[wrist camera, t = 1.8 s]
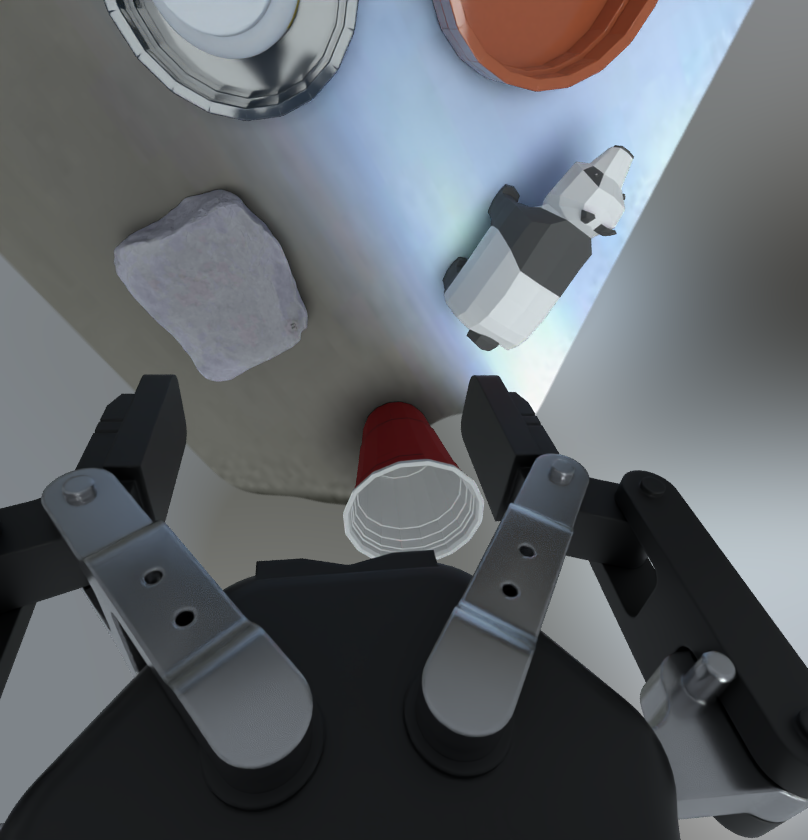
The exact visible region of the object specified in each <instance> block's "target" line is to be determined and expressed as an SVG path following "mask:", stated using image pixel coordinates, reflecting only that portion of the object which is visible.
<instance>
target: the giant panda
mask: <svg viewBox="0 0 808 840" xmlns="http://www.w3.org/2000/svg"><path fill="white" fill-rule="evenodd" d="M633 158H634V156H633V155H632V154H631V153H630V151H629V150H627V149H626V148H624V147H623V146H617V145H615V146H614V147H611V148H609V149H607V150H606V151H605V152H604V153H602V154H601V155H600V156H598V157H597V158H596V159H595V160H593V161H592V162H591V163H583V162H575V164H574V165H573V166H572V167H571V168H570V169H569V170H568V172H567V173H566V174H565V175H564V176H563V177H562V178H561V180H560V181H559V182H558V183H557V184H556V185H555V186H554V188H553V189H552V190H551V191H550V192H549V193H548V195H547V196H546V198H545V199H544V202H543V205H542V206H535V207H528V206H526V205H523V204H521V203H518V199H519V194H518V192H517V191H516V189H515V188H514V186H510V185H506V184H505V185H504V186H503V187H502V189H501V190H500V191H499V192H498V194H497V195H496V197H495V198H494V200H493V201H492V204H491V206H490V208H489V210H488V213H489V215H490V217H491V227H490V228H489V230H488V231H487V233H486V234H485V236H484V237H483V239H482V240H481V242H480V243H479V244H478V246H477V247H476V249H475V250H474V252H473V253H472V255H471V256H470V258H469V259H468V260H467V259H466V258H462V257H458V258H457V259H456V260H455V261H454V263H453V264H452V265H451V266H450V268H449V269H448V270H447V272H446V274H445V276H444V278H443V283H444V288H445V291H444V297H445V301H446V304H447V305H448V306H449V308H450V309H451V310H452V312H453V313H454V315H455V316H456V317H457V318H458V319H459V320H460V321H461V322H462V323H463V324H464V325H465V326H466V327H467V328H468V329H470V330H469V332H468V334H467V336H468V337H469V338H470V339H471V340H472V341H473V342H474V343H475V344H476V345H477V346H478V347H479V348H480V349H482V350H486V351H490V350H492V349H494V348H496V347H497V346H498V345H500V346H502V347H503V348H505V349H506V350H510V349H512V348H515V347H517V346H519V345H520V344H522V343H523V342H524V341H525V340H527V339H528V338H529V337H530V335H531V334H532V333H533V332H534V331H535V330H536V328H537V327H538V326H539V325H540V324H541V323H542V321H543V320H544V319H545V318H546V316H547V315H548V313H549V312H550V311H551V309H552V308H553V306H554V305H555V304H556V302H557V301H558V299H559V298H560V297H561V295H562V294H563V292H564V291H565V290H566V288H567V287H568V285H569V284H570V283H571V281H572V280H573V278H574V277H575V275H576V274H577V273H578V271H579V270H580V268H581V267H582V266H583V265H584V263H585V262H586V261H587V260H588V258H589V257H590V256H591V255H592V249H591V238H593V237H595V236H597V235H599V234H600V235H602V236H611V235H615V234H616V231H615V230H612V229H613V228H615V226H616V225H617V223H618V221H619V219H620V218H621V216H622V214H623V212H624V211H625V206H624V200H625V194H622V190H621V188H622V186H623V183H624V181H625V178H626V176H627V173H628V171H629V168H630V166H631V163H632V161H633Z"/></svg>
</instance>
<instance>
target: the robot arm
mask: <svg viewBox="0 0 808 840" xmlns="http://www.w3.org/2000/svg"><path fill="white" fill-rule="evenodd" d="M461 432H462V438H463V441H464V443H465V446H466V448H467V451H468V453H469V456H470V458H471V461H472V464H473V466H474V469H475V471H476V474H477V476H478V479H479V481H480V484H481V486H482V489H483V491H484V494H485V496H486V499H487V501H488V504H489V506H490V509H491V511H492V514H493V516H494V519H495V521H501V522H500V524H499V526H498V528H497V530H496V532H495V534H494V536H493V537H492V539H491V542H490V543H489V545H488V547H487V549H486V551H485V553H484V555H483V557H482V559H481V561H480V563H479V565H478V567H477V569H476V571H475V573H474V575H473V576H472V575H470V574H468V573H466V572H464V571H462V570H460V569H457V568H455V567H452V566H448V565H444V564H440V563H437V561H436V557H435V553H434V550H422V551H407V552H392V553H389V554H386V555H382V556H379V557H375V558H372V559H369V560H366V561H362V562H359V563H355V564H351V565H343V564H336V563H330V562H323V561H316V560H308V559H288V560H272V561H257V563H256V575H255V576H253V577H249V578H247V579H244V580H242V581H239V582H237V583H235V584H233V585H231V586H229V587H227V588H226V589H224V590H222V589H221V588H220V587H219V585H218V584H217V583H216V582H215V581H214V580H213V578H212V577H211V576H210V575H209V574H208V573H207V571H206V570H205V569H204V568H203V567H202V565H201V564H200V563H199V562H198V561H197V559H196V558H195V557H194V556H193V555H192V554H191V552H190V551H189V550H188V549H187V548H186V547H185V545H184V544H183V543H182V542H181V541H180V539H178V537H177V536H176V535H175V534H174V532H173V531H172V530H171V529H170V528H169V527H168V525H166V523H165V520H166V516H167V513H168V509H169V505H170V501H171V498H172V494H173V490H174V486H175V483H176V479H177V475H178V471H179V468H180V464H181V460H182V456H183V453H184V449H185V445H186V436H187V430H186V420H185V415H184V410H183V405H182V399H181V394H180V389H179V384H178V380H177V377H176V375H143V376H142V378H141V380H140V383H139V385H138V387H137V390H136V392H135V394H121V395H120V396H119V397H117V398H116V399H115V400H114V401H113V402H111V403H110V404H109V405H107V407H106V409H105V411H104V413H103V415H102V417H101V419H100V422H99V423H98V425H97V427H96V429H95V433H93V435H92V437H91V439H90V441H89V443H88V445H87V447H86V449H85V451H84V453H83V455H82V457H81V459H80V462H79V463H78V465H77V467H76V469H75V470H74V471H71V472H69V473H66V474H64V475H62V476H60V477H58V478H57V479H55V480H54V481H52V482H51V483H50V484H49V485H48V486H47V487H46V488H45V490H44V491H43V494H42V497H41V498H39V499H36V500H33V501H29V502H26V503H21V504H18V505H13V506H9V507H5V508H1V509H0V698H1V695H2V693H3V690H4V687H5V684H6V682H7V679H8V677H9V674H10V671H11V669H12V666H13V663H14V661H15V658H16V655H17V653H18V650H19V648H20V645H21V642H22V639H23V636H24V634H25V632H26V629H27V626H28V623H29V621H30V618H31V616H32V613H33V610H34V608H35V605H36V602H38V601H41V600H45V599H48V598H51V597H54V596H57V595H60V594H63V593H66V592H70V591H72V590H76V589H79V588H81V590H82V592H83V593H84V595H85V596H86V598H87V600H88V601H89V603H90V604H91V606H92V607H93V609H94V611H95V612H96V614H97V615H98V617H99V619H100V620H101V622H102V623H103V625H104V627H105V628H106V630H107V631H108V633H109V634H110V636H111V638H112V639H113V641H114V642H115V644H116V646H117V648H118V649H119V651H120V653H121V655H122V657H123V659H124V661H125V663H126V664H127V666H128V668H129V670H130V672H131V673H132V675H133V677H134V679H133V680H132V681H131V682H130V683H129V684H128V685H127V686H126V687H125V688H124V689H123V690H122V691H121V692H120V693H119V694H118V696H116V697H115V698H114V699H113V700H112V702H111V703H110V704H109V705H108V706H107V707H106V708H105V709H104V710H103V711H102V712H101V713H100V714H99V715H98V716H97V717H96V718H95V719H94V720H93V721H92V722H91V723H90V724H89V726H88V727H87V728H86V729H85V730H84V731H83V732H82V733H81V734H80V735H79V736H78V737H77V738H76V739H75V740H74V741H73V742H72V743H71V744H70V745H69V746H68V747H67V748H66V749H65V751H64V752H63V753H62V754H61V755H60V756H59V757H58V758H57V759H56V760H55V761H54V762H53V763H52V764H51V765H50V766H49V767H48V768H47V769H46V770H45V771H44V772H43V773H42V775H41V776H40V777H39V778H38V779H37V780H36V781H35V782H34V783H33V784H32V786H30V787H29V789H28V790H27V791H26V792H25V793H24V795H23V796H22V797H21V799H20V800H19V801H18V803H17V804H16V806H15V807H14V808H13V810H12V811H11V813H10V815H9V816H8V818H7V820H6V821H5V823H1V824H0V840H680V833H679V826H678V819H689V818H699V817H709V816H713V817H714V818H715V819H716V820H717V821H718V822H719V823H720V824H722V825H723V826H724V827H725V828H727V829H728V830H730V831H732V832H733V833H735V834H738V835H740V836H744V837H748V838H755V837H759V836H762V835H764V834H765V833H767V832H769V831H770V830H772V829H774V828H775V827H777V826H778V825H780V824H782V823H783V822H785V821H787V820H788V819H790V818H792V817H793V816H795V815H797V814H798V813H800V812H802V811H803V810H805V809H807V808H808V668H807V667H806V665H805V664H804V662H803V661H802V660H801V659H800V657H799V656H798V654H797V653H796V652H795V650H794V649H793V648H792V646H791V645H790V644H789V642H788V641H787V639H786V638H785V637H784V635H783V634H782V632H781V631H780V630H779V628H778V627H777V626H776V624H775V623H774V622H773V620H772V619H771V617H770V616H769V615H768V613H767V612H766V611H765V609H764V608H763V607H762V605H761V604H760V603H759V601H758V600H757V598H756V597H755V596H754V594H753V593H752V592H751V590H750V589H749V587H748V586H747V585H746V583H745V582H744V581H743V579H742V578H741V577H740V575H739V574H738V573H737V571H736V570H735V568H734V567H733V566H732V564H731V563H730V562H729V560H728V559H727V557H726V556H725V555H724V553H723V552H722V551H721V549H720V548H719V547H718V545H717V544H716V543H715V541H714V540H713V538H712V537H711V536H710V534H709V533H708V532H707V530H706V529H705V528H704V526H703V525H702V523H701V522H700V521H699V519H698V518H697V517H696V515H695V514H694V512H693V511H692V510H691V509H690V507H689V506H688V504H687V503H686V502H685V500H684V499H683V498H682V496H681V495H680V493H679V492H678V491H677V489H676V488H675V487H674V486H673V485H672V484H671V483H670V482H668V481H667V480H666V479H664V478H662V477H660V476H658V475H656V474H654V473H651V472H647V471H640V470H638V471H630V472H628V473H627V474H625V475H624V476H623V478H622V480H621V482H620V484H618V483H612V482H608V481H603V480H598V479H594V478H590V477H589V475H588V472H587V471H586V469H585V468H584V467H583V466H582V465H581V464H580V463H578V462H577V461H576V460H574V459H572V458H570V457H567V456H564V455H560V454H559V452H558V451H557V449H556V447H555V446H554V444H553V442H552V441H551V439H550V437H549V436H548V434H547V433H546V431H545V429H544V428H543V426H542V425H541V423H540V421H539V419H538V418H537V416H535V413H534V411H533V409H532V408H531V406H530V405H529V403H528V402H527V401H526V400H525V399H523V398H522V397H521V396H520V395H518V394H517V393H516V392H508V391H507V389H506V387H505V385H504V384H503V382H502V380H501V378H500V377H499V376H497V375H474V376H472V377H471V379H470V382H469V386H468V391H467V395H466V400H465V405H464V410H463V414H462V420H461ZM565 556H571V557H575V558H580V559H585V560H589V562H590V564H591V567H592V569H593V571H594V573H595V575H596V577H597V579H598V582H599V583H600V586H601V588H602V590H603V592H604V594H605V596H606V599H607V601H608V603H609V605H610V607H611V609H612V611H613V613H614V616H615V617H616V620H617V622H618V624H619V626H620V628H621V631H622V632H623V635H624V637H625V639H626V641H627V643H628V645H629V648H630V649H631V652H632V654H633V656H634V658H635V660H636V662H637V664H638V667H639V669H640V671H641V673H642V675H643V677H644V679H645V682H646V684H645V685H644V686H643V688H642V690H641V693H640V704H641V708H642V711H643V715H644V717H643V716H642V715H641V714H640V713H639V712H638V711H637V710H636V709H635V708H634V707H633V706H632V705H631V704H630V703H629V702H627V701H626V700H625V699H624V698H623V697H622V696H620V695H619V694H618V693H616V692H615V691H614V690H613V689H612V688H611V687H609V686H608V685H607V684H606V683H604V682H603V681H602V680H601V679H600V678H598V677H597V676H596V675H595V674H593V673H592V672H591V671H590V670H589V669H587V668H586V667H585V666H584V665H583V664H581V663H580V662H579V661H578V660H576V659H575V658H574V657H573V656H571V655H570V654H569V653H568V652H567V651H565V650H564V649H563V648H562V647H560V646H559V645H558V644H557V643H556V642H554V641H553V640H552V639H551V638H550V637H548V636H547V635H546V634H545V633H543V632H542V631H541V627H542V624H543V621H544V618H545V614H546V612H547V609H548V606H549V603H550V600H551V597H552V594H553V591H554V588H555V585H556V583H557V580H558V577H559V574H560V571H561V568H562V565H563V562H564V559H565ZM648 557H649V559H650V561H651V562H652V564H653V566H654V567H653V566H652V564H651V562H650V561H649V559H648ZM654 568H655V569H654Z"/></svg>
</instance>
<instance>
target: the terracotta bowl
mask: <svg viewBox="0 0 808 840" xmlns="http://www.w3.org/2000/svg"><path fill="white" fill-rule="evenodd" d="M432 1H433V4H434V8H435V11H436V14H437V17H438V21H439V24H440V27H441V30H442V31H443V33H444V35H445V36H446V38H447V39H448V41H449V42H450V44H451V45H452V47H453V48H454V50H455V51H456V53H457V54H458V56H459V57H460V58H461V60H463V61H464V62H465V63H467V64H468V65H469V66H470V67H472V68H473V69H474V70H476V71H477V72H478V73H480V74H481V75H482V76H484V77H485V78H488V79H491V80H495V81H498V82H502V83H505V84H509V85H513V86H517V87H520V88H524V89H528V90H532V91H535V92H536V91H537V92H539V91H546V90H554V89H561V88H568V87H571V86H573V85H575V84H577V83H579V82H581V81H583V80H585V79H586V78H588V77H590V76H592V75H594V74H596V73H598V72H600V71H601V70H603V69H604V68H605V67H606V66H607V65H608V64H609V63H610V62H611V61H612V60H613V59H614V58H616V57H617V56H618V55H619V54H620V53H621V52H622V51H623V50H624V49H625V48H626V47H627V46H628V45H629V44H630V43H631V42H632V41H633V39H634V38H635V36H636V35H637V33H638V32H639V30H640V28H641V27H642V25H643V24H644V22H645V21H646V19H647V18H648V16H649V15H650V13H651V12H652V10H653V9H654V7H655V6H656V4H657V2H658V0H432Z"/></svg>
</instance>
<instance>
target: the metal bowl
mask: <svg viewBox="0 0 808 840" xmlns="http://www.w3.org/2000/svg"><path fill="white" fill-rule="evenodd" d="M358 2H359V0H299V5H298V9H297V13H296V15H295V18H294V20H293V22H292V24H291V26H290V28H289V29H288V31H287V32H286V33H285V34H284V36H283V37H282V38H281V39H280V40H278V41H277V42H276V43H275V44H273V45H272V46H271V47H270V48H269V49H267V50H266V51H264V52H262V53H260V54H258V55H255V56H252V57H249V58H243V59H227V58H221V57H217V56H214V55H211V54H208V53H206V52H204V51H202V50H200V49H198V48H196V47H195V46H193V45H192V44H190V43H189V42H187V41H186V40H185V39H184V38H182V37H181V36H180V35H179V34H178V33H177V32H176V31H175V30H174V29H173V28H172V27H171V26H170V25H169V24H168V23H167V21H166V20H165V19H164V18H163V16H162V15H161V13H160V12H159V11H158V9H157V8H156V6H155V5H154V3H153V1H152V0H104V3H105V6H106V8H107V11H108V12H109V15H110V17H111V18H112V20H113V21H114V23H115V24H116V26H117V28H118V29H119V31H120V32H121V34H122V35H123V37H124V39H125V40H126V42H127V43H128V45H129V46H130V48H131V50H132V51H133V53H134V54H135V56H136V57H137V58H138V60H139V61H140V62H141V63H142V64H143V65H144V66H146V67H147V68H148V69H149V70H150V71H151V72H152V73H153V74H154V75H155V76H156V77H157V78H158V79H159V80H160V81H161V82H162V83H163V84H164V85H165V86H166V87H167V88H168V89H169V90H170V91H172V92H173V93H174V94H176V95H178V96H180V97H182V98H183V99H185V100H187V101H189V102H190V103H192V104H194V105H196V106H198V107H199V108H201V109H203V110H205V111H206V112H209V113H211V114H216V115H221V116H225V117H230V118H234V119H239V120H244V121H246V120H247V121H251V120H259V119H266V118H274V117H281V116H284V115H286V114H287V113H289V112H291V111H293V110H295V109H296V108H298V107H300V106H302V105H304V104H306V103H307V102H309V101H311V100H312V99H314V98H315V97H316V96H317V94H318V93H319V92H320V91H321V90H322V89H323V87H324V86H325V85H326V84H327V83H328V82H329V80H330V79H331V78H332V77H333V76H334V75H335V74H336V72H337V71H338V69H339V67H340V65H341V62H342V60H343V58H344V55H345V53H346V51H347V48H348V46H349V44H350V41H351V39H352V36H353V34H354V30H355V25H356V17H357V10H358Z"/></svg>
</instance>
